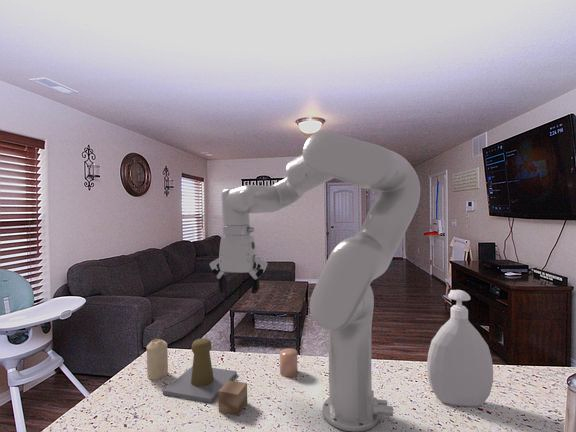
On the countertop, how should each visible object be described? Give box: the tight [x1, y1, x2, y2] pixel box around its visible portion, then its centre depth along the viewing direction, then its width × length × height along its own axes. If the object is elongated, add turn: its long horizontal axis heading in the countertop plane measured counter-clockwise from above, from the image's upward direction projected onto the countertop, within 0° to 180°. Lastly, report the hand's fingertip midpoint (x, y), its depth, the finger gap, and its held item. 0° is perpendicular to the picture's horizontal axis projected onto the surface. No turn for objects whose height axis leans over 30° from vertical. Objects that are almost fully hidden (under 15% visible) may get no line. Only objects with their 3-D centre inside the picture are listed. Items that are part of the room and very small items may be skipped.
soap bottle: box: [426, 289, 494, 408], centre depth 79 cm, size 14×8×27 cm, turn 79°
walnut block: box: [217, 380, 248, 417], centre depth 78 cm, size 5×5×5 cm
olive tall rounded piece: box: [191, 337, 214, 386], centre depth 88 cm, size 6×6×11 cm
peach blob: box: [279, 347, 299, 378], centre depth 93 cm, size 5×5×6 cm
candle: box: [146, 338, 169, 380], centre depth 93 cm, size 6×6×10 cm
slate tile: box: [162, 365, 238, 404], centre depth 88 cm, size 14×14×1 cm
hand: (239, 292), depth 92 cm, fingers open, 9 cm apart
